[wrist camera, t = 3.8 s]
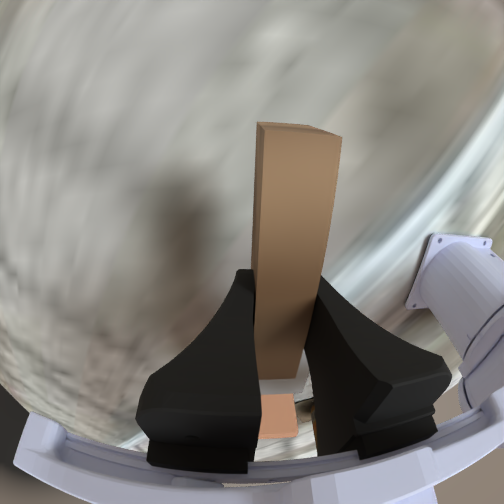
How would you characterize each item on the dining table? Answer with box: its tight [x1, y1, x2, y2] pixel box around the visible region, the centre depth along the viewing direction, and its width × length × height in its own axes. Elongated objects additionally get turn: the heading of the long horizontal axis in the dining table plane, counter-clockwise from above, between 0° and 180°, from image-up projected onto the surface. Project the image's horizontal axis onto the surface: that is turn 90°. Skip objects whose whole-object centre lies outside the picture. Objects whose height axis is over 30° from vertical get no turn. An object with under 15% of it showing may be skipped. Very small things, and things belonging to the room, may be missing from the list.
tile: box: [258, 393, 298, 439], centre depth 23 cm, size 7×1×8 cm, turn 88°
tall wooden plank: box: [251, 122, 342, 395], centre depth 12 cm, size 17×6×4 cm, turn 178°
